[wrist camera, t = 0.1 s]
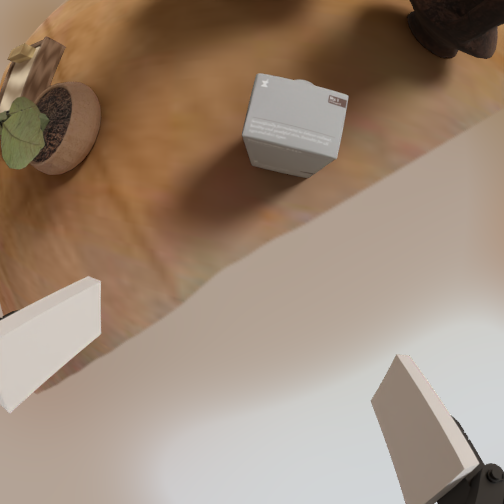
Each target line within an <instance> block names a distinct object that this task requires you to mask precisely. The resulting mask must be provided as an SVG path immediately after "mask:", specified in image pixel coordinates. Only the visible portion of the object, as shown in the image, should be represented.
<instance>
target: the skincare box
mask: <svg viewBox="0 0 504 504" xmlns="http://www.w3.org/2000/svg"><path fill="white" fill-rule="evenodd" d="M347 103H348V95H345V94H342V93H339V92H336V91H333V90H329V89H326V88H322V87H318V86H315V85H313V84H312V83H310V82H308V81H305V80H291V79H287V78H282V77H277V76H272V75H267V74H257V75H256V78H255V81H254V85H253V89H252V93H251V97H250V101H249V106H248V110H247V114H246V118H245V123H244V127H243V132H242V137H243V140H244V143H245V146H246V149H247V153H248V156H249V159H250V162H251V165H252V166H256V167H260V168H263V169H268V170H272V171H276V172H280V173H285V174H289V175H294V176H299V177H304V178H309V177H311V176H312V175H313V174H315V173H316V172H318V171H319V170H320V169H322V168H323V167H325V166H326V165H328V164H329V163H330V162H332V161H333V160H335V159H337V155H338V151H339V146H340V141H341V136H342V131H343V126H344V121H345V115H346V109H347Z"/></svg>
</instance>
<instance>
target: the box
mask: <svg viewBox="0 0 504 504" xmlns="http://www.w3.org/2000/svg"><path fill="white" fill-rule="evenodd" d="M30 46H32V47H34V48H37V47H40V48H39V50H38V52H37V55H36V57H35V59H34V62H33V64H32V66H31V69H30V71H29V74H28V76H27V79H26V82H25V84H24V87H23V90H22V93H21V96H20V97H26V98H27V99H29V100H31V101H32V102H35V101H36V99H37V98H38V97H39V95H40V94H41V93H42V92H43V91H44V90H46V89H47V88H49V87H50V84H51V82H52V79H53V76H54V74H55V71H56V69H57V66H58V64H59V61H60V59H61V57H62V54H63V52H64V50H65V48H66V47H65V46H64V45H62V44H60V43H58V42H56V41H55V40H53V39H51V38H49V37H45V38H44V40H41V41H39V42H37V43H35V44H32V45H30ZM15 63H16V62H13V61H12V63H11V65H10V68H9V70H8V73H7V75H6V78H5V80H4V83H3V86H2V89H1V92H0V105H1V101H2V98H3V95H4V92H5V89H6V86H7V84H8V81H9V78H10V76H11V73H12V70H13V68H14V66H15ZM0 140H1V135H0Z"/></svg>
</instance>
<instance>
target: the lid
mask: <svg viewBox="0 0 504 504" xmlns="http://www.w3.org/2000/svg"><path fill="white" fill-rule="evenodd" d="M39 48H40V47H37V48H34V47H32V46H30V45H27V44H25V43H24V44H22V45H21V46H19V47H17V48H15V49H13V50H12V51H11V53H10V55H9V57H8V60H10V61H13V62H16V63H15V66H14V68H13V70H12V73H11V76H10V78H9V81H8V84H7V86H6V89H5V92H4V95H3V98H2V101H1V105H0V113H2V112H4V111H8V110H9V109H10V107H11V104H12V102H13V101H14V100H15V99H16V98H17V97H20V96H21V93H22V90H23V87H24V84H25V82H26V79H27V76H28V74H29V71H30V69H31V66H32V64H33V62H34V59H35V57H36V55H37V52H38V50H39Z"/></svg>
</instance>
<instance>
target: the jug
mask: <svg viewBox="0 0 504 504" xmlns="http://www.w3.org/2000/svg"><path fill="white" fill-rule="evenodd" d="M410 2H411V4H412V6H413V9H414V11H413V12H410V14H409V15H408V17H407V18H408V24H409V27H410V29H411V31H412V33H413V35H414V36H415V37H416V39H417V40H418V41H419V42H420V43H421V44H422V45H423V46H424V47H425V48H427V49H428V50H429V51H431V52H432V53H434V54H435V55H437V56H439V57H443V58H445V57H448V58H452V57H455V55H456V54H457V52H458V50H460V51H462V52H465V53H467V54H469V55H472V56H474V57H477V58H484V59H487V58H490V57H492V55H493V54H494V52H495V50H496V45H497V26H499V25H501V24H504V0H410Z"/></svg>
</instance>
